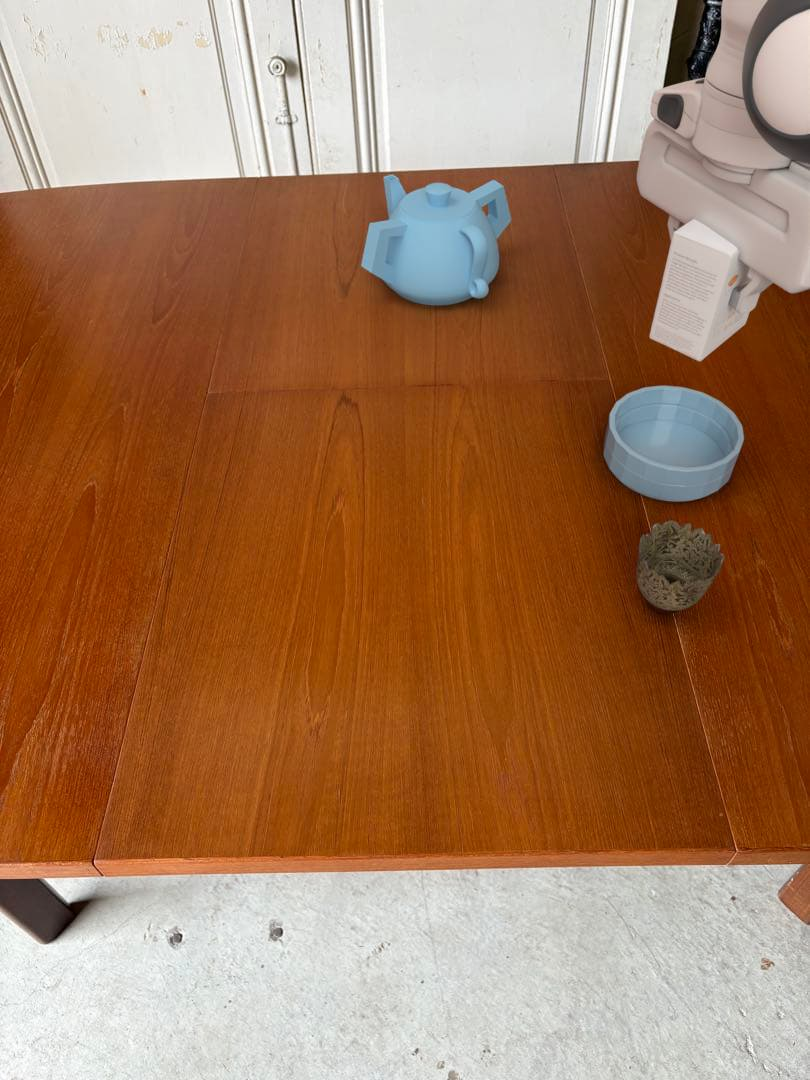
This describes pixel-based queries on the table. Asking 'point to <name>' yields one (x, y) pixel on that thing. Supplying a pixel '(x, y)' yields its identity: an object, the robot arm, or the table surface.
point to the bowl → (672, 443)
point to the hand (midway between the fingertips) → (709, 286)
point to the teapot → (438, 241)
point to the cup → (676, 566)
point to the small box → (698, 292)
